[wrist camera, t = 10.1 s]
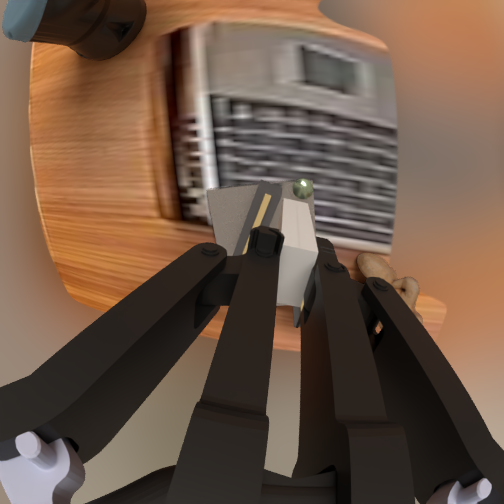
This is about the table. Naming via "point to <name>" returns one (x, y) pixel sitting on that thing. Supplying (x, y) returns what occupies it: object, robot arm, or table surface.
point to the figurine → (390, 279)
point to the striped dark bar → (259, 212)
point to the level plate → (238, 204)
